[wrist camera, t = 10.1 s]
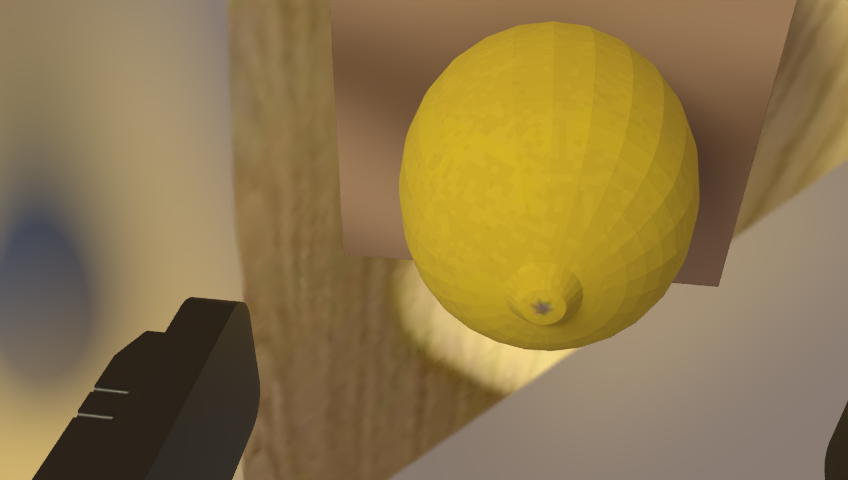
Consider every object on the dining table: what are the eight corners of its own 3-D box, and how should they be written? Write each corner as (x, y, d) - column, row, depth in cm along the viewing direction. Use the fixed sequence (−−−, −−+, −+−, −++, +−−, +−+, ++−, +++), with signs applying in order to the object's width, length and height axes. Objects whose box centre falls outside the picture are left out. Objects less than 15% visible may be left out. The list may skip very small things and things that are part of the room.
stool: (388, -189, 23) (321, -147, 16) (747, -179, 22) (832, -130, 15) (392, 127, 28) (343, 254, 22) (678, 147, 27) (718, 286, 21)
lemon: (694, -18, 17) (787, 164, 10) (644, 206, 20) (690, 458, 13) (433, -36, 17) (357, 126, 11) (424, 185, 20) (363, 417, 14)
